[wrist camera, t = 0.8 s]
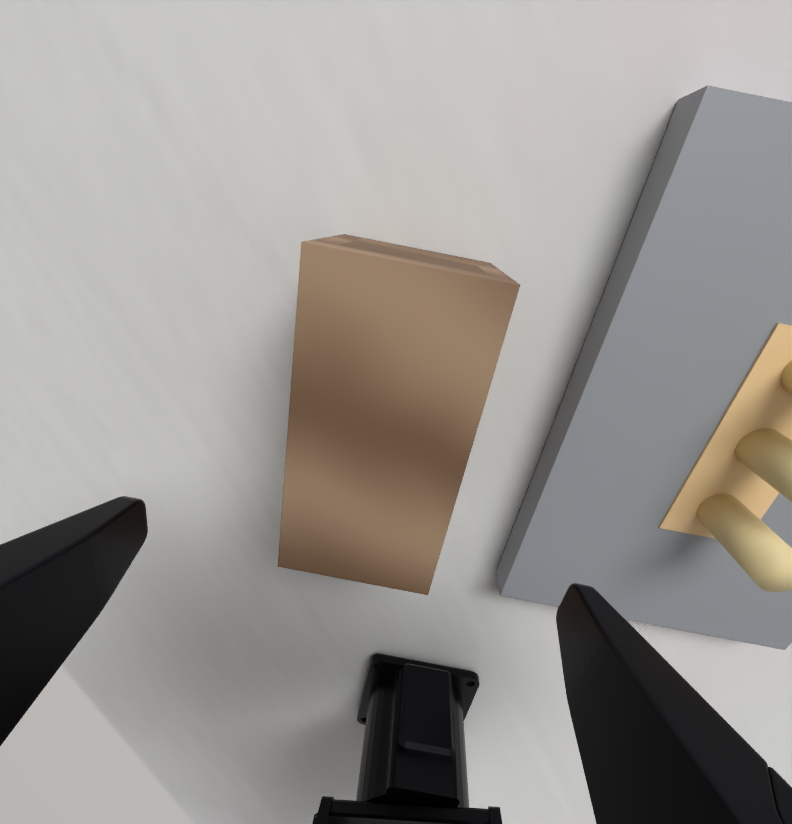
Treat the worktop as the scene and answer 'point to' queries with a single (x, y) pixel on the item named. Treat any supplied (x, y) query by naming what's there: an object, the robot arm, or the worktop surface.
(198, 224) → the worktop surface
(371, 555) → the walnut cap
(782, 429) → the pin board
